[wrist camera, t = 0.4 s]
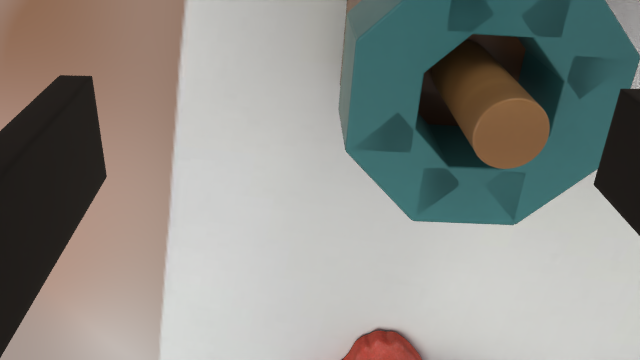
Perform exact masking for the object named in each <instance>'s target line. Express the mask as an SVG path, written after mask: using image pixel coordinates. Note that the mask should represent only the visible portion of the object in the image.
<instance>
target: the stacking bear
mask: <svg viewBox="0 0 640 360" xmlns="http://www.w3.org/2000/svg"><path fill="white" fill-rule="evenodd" d="M343 360H422V359H421V357H420V356H419V354H418V353H417V351H416V350H415V349H414V347H413V346H412V345H411V344H410V343H409V342H408V341H407V340H406V339H405V338H404V337H402V336H401V335H399V334H398V333H396V332H393V331H389V332H385V331H374V332H371V333H370V334H368V335H365V336H362V337H360V338H359V339H358V340H357V341H356V342H355V343H354V345H353V347H352V349H351V350H350V352H349V353H348V355H347V356H346V357H345V358H344V359H343Z"/></svg>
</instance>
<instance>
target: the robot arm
mask: <svg viewBox="0 0 640 360" xmlns="http://www.w3.org/2000/svg"><path fill="white" fill-rule="evenodd" d="M105 179H106V169H105V162H104V155H103V148H102V142H101V135H100V128H99V121H98V114H97V107H96V100H95V94H94V87H93V80H92V76H64V75H61V76H59V77H57V78H56V79H55V80H54V81H53V82H52V83H51V84H50V85H49V86H48V87H47V88H46V89H45V90H44V91H43V92H42V93H40V94H39V95H38V96H37V97H36V98H35V99H34V100H33V101H32V102H31V103H30V104H29V105H28V106H27V107H25V109H23V110H22V111H21V112H20V113H19V114H18V115H17V116H16V117H15V118H14V119H13V120H12V121H11V122H9V123H8V124H7V125H6V126H5V127H4V128H3V129H2V130H1V131H0V357H1V356H2V354H3V352H4V351H5V349H6V347H7V346H8V344H9V342H10V340H11V338H12V337H13V335H14V334H15V332H16V330H17V328H18V327H19V325H20V323H21V322H22V320H23V318H24V316H25V315H26V313H27V311H28V310H29V308H30V306H31V305H32V303H33V301H34V300H35V298H36V296H37V294H38V293H39V291H40V289H41V288H42V286H43V284H44V283H45V281H46V279H47V277H48V276H49V274H50V272H51V271H52V269H53V267H54V266H55V264H56V262H57V260H58V259H59V257H60V255H61V254H62V252H63V250H64V249H65V247H66V245H67V243H68V242H69V240H70V238H71V237H72V235H73V233H74V231H75V230H76V228H77V226H78V224H79V223H80V221H81V220H82V218H83V216H84V214H85V213H86V211H87V209H88V208H89V206H90V204H91V203H92V201H93V199H94V197H95V196H96V194H97V192H98V191H99V189H100V187H101V186H102V184H103V182H104V180H105ZM594 186H595V187H596V188H597V189H598V190H599V191H600V192H601V193H602V194H603V196H604V197H605V198H606V199H607V200H608V201H609V202H610V203H611V204H612V206H613V207H614V208H615V209H616V210H617V211H618V212H619V213H620V214H621V216H622V217H623V218H624V219H625V220H626V221H627V222H628V223H629V224H630V226H631V227H632V228H633V229H634V230H635V231H636V232H637V233H638V235H639V236H640V89H620V93H619V96H618V100H617V103H616V107H615V110H614V114H613V117H612V121H611V124H610V128H609V132H608V135H607V139H606V142H605V146H604V149H603V153H602V156H601V160H600V163H599V167H598V170H597V174H596V178H595V181H594Z"/></svg>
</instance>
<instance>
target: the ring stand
mask: <svg viewBox="0 0 640 360" xmlns="http://www.w3.org/2000/svg"><path fill="white" fill-rule="evenodd" d="M360 1H361V0H347V9H346V18H347V13H348V12H349V11H350V10H351V9H352V8H353V7H354V6H356V5H357V4H358V3H359V2H360ZM345 30H346V21H345ZM344 41H345V32H344ZM525 50H526V49H525V48H524V46H523V45H522V44H521V42H520V41H519V39H518V38H517V37H511V36H495V35H478V34H472V35H471V36H470V37H468V38H467V39H466V40H465V41H463V42H462V43H461V44H460V45H458V46H457V47H456V48H455V49H453V50H452V51H451V52H450V53H448V54H447V55H446V56H445V57H443V58H442V59H441V60H440V61H438V62H437V63H436V64H435V65H433V66H432V67H431V68H430V69H428V70H427V71H426V72H425V73H424V77H423V84H422V90H421V97H420V103H419V109H418V113H419V114H420V115H421V117H422V118H423V119H424V120H425V121H426V122H427V124H429V125H449V126H460V128H461V130H462V131H463V133H464V135H465V136H466V138H467V140H468V141H469V143H470V145H471V146H472V148H473V150H474V151H475V153H476V155H477V156H478V157H479V158H480V159H481V161H483V162H484V163H485V164H487V165H489V166H492V167H495V168H500V169H510V168H516V167H519V166H522V165H524V164H526V163H528V162H530V161H531V160H532V159H534V158H535V157H536V156H537V155H538V154H539V153H540V152H541V151H542V149H543V148H544V146H545V144H546V142H547V140H548V137H549V131H550V124H549V119H548V116H547V114H546V112H545V111H544V109H543V108H542V107H541V106H540V105H539V104H538V103H537V102H536V101H535V100H534V99H533V98H532V97H531V96H530V95H529V94H528V93H527V91H526V90H525V89H524V88H523V87H522V86H521V85H520V84H519V83H518V81H519V76H520V72H521V68H522V63H523V59H524V55H525ZM343 52H344V44H343ZM342 64H343V55H342ZM341 75H342V67H341ZM340 86H341V78H340Z"/></svg>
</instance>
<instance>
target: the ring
mask: <svg viewBox="0 0 640 360" xmlns="http://www.w3.org/2000/svg"><path fill="white" fill-rule="evenodd" d="M472 34H478V35H495V36H511V37H517V38H518V39H519V41H520V42H521V44H522V45H523V46H524V48H525V49H526V50H525V55H524V59H523V63H522V68H521V72H520V76H519V81H518V83H519V84H520V85H521V86H522V87H523V88H524V89H525V90H526V91H527V93H528V94H529V95H530V96H531V97H532V98H533V99H534V100H535V101H536V102H537V103H538V104H539V105H540V106H541V107H542V108H543V109H544V111H545V112H546V114H547V116H548V119H549V124H550V131H549V137H548V140H547V142H546V144H545V146H544V148H543V149H542V151H541V152H540V153H539V154H538V155H537V156H536V157H535V158H534V159H532V160H531V161H530V162H528V163H526V164H524V165H522V166H519V167H516V168H510V169H500V168H495V167H492V166H489V165H487V164H485V163H484V162H483V161H481V159H480V158H479V157H478V156H477V155H476V153H475V151H474V150H473V148H472V146H471V145H470V143H469V141H468V140H467V138H466V136H465V135H464V133H463V131H462V130H461V128H460V126H449V125H429V124H427V122H426V121H425V120H424V119H423V118H422V117H421V115H420V114H419V113H418V109H419V103H420V97H421V90H422V84H423V77H424V73H425V72H426V71H427V70H428V69H430V68H431V67H432V66H433V65H435V64H436V63H437V62H438V61H440V60H441V59H442V58H443V57H445V56H446V55H447V54H448V53H450V52H451V51H452V50H453V49H455V48H456V47H457V46H458V45H460V44H461V43H462V42H463V41H465V40H466V39H467V38H468V37H470V36H471V35H472ZM639 60H640V56H639V54H638V52H637V50H636V49H635V47H634V46H633V44H632V42H631V41H630V39H629V38H628V36H627V34H626V33H625V31H624V30H623V28H622V26H621V25H620V23H619V22H618V20H617V19H616V17H615V15H614V14H613V12H612V11H611V9H610V7H609V6H608V4H607V3H606V1H605V0H361V1H360V2H359V3H358V4H357V5H356V6H354V7H353V8H352V9H351V10H350V11H349V12H348V13H347V18H346V30H345V41H344V52H343V64H342V75H341V86H340V98H339V115H340V121H341V127H342V133H343V139H344V145H345V150H346V152H347V153H348V154H349V155H350V156H351V157H352V158H353V159H354V160H355V161H356V162H357V164H358V165H359V166H360V167H361V168H362V169H363V170H364V171H365V172H366V173H367V174H368V175H369V176H370V177H371V178H372V179H373V180H374V181H375V182H376V183H377V185H378V186H379V187H380V188H381V189H382V190H383V191H384V192H385V193H386V194H387V195H388V196H389V197H390V198H391V199H392V200H393V201H394V202H395V203H396V204H397V205H398V207H399V208H400V209H401V210H402V211H403V212H404V213H405V214H406V215H407V216H408V217H409V218H410V219H411V220H413V221H426V222H451V223H476V224H500V225H514V224H517V223H518V222H520V221H521V220H523V219H524V218H526V217H527V216H529V215H530V214H532V213H533V212H535V211H536V210H537V209H539V208H540V207H542V206H543V205H545V204H546V203H548V202H549V201H551V200H552V199H554V198H555V197H557V196H558V195H560V194H561V193H563V192H564V191H566V190H567V189H569V188H570V187H572V186H573V185H575V184H576V183H577V182H579V181H580V180H582V179H583V178H585V177H586V176H588V175H589V174H591V173H592V172H594V171H595V170H597V169H598V167H599V163H600V160H601V156H602V153H603V149H604V146H605V142H606V139H607V135H608V132H609V128H610V124H611V121H612V117H613V114H614V110H615V107H616V103H617V100H618V96H619V93H620V89H630V88H631V85H632V82H633V79H634V76H635V73H636V70H637V67H638V63H639Z"/></svg>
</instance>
